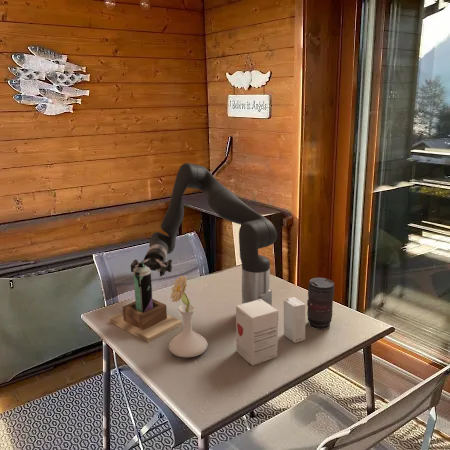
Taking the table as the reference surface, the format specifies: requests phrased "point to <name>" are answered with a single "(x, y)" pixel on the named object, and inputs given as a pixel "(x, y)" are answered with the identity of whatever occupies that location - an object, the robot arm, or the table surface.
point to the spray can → (143, 288)
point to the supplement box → (256, 331)
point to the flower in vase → (185, 325)
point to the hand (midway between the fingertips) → (148, 273)
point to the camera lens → (320, 302)
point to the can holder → (146, 321)
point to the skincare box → (294, 319)
